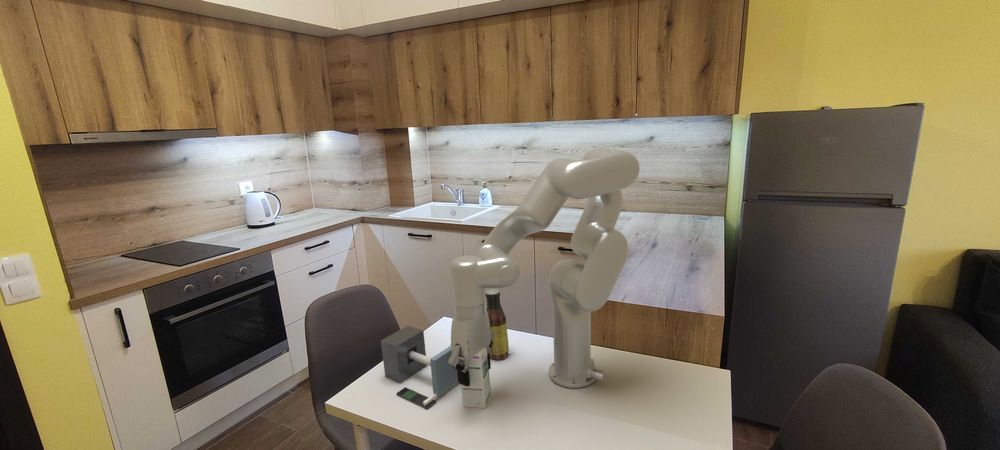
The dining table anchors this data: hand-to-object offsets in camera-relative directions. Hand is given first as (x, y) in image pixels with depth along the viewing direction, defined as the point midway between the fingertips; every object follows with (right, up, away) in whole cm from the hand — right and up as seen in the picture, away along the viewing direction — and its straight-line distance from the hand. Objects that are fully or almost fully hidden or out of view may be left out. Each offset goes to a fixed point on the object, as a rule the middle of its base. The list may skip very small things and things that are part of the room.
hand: (474, 375), depth 108 cm
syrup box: (0, -7, +2) cm, 7 cm away
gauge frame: (-15, -5, +10) cm, 19 cm away
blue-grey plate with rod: (-13, -5, +9) cm, 17 cm away
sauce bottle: (+5, -2, +22) cm, 23 cm away
